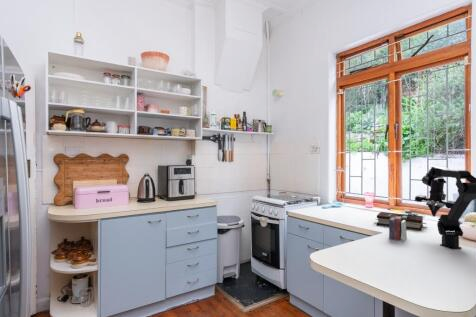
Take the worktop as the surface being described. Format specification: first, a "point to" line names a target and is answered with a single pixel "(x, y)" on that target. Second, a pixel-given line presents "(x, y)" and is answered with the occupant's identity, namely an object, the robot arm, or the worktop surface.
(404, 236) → the bookend
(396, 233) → the book row
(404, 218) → the decorative book
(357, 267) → the worktop surface
